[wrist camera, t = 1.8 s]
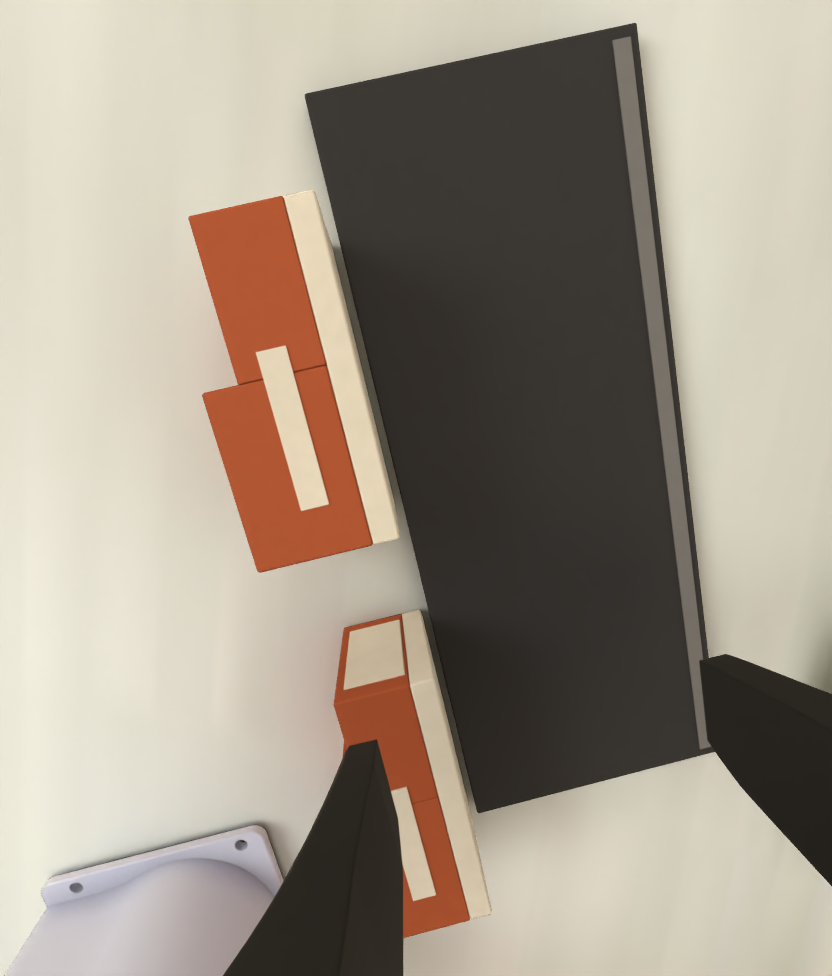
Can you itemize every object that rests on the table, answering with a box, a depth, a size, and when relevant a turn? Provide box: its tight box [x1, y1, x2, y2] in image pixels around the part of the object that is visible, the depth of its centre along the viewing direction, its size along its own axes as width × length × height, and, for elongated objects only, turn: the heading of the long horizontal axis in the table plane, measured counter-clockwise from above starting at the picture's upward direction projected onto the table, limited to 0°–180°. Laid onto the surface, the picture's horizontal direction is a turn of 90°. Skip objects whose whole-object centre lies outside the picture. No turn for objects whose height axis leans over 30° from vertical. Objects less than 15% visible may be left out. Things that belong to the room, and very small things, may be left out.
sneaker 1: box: [334, 610, 492, 938], centre depth 19 cm, size 4×10×5 cm, turn 13°
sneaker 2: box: [189, 190, 400, 572], centre depth 16 cm, size 4×10×5 cm, turn 13°
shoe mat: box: [305, 23, 715, 813], centre depth 19 cm, size 11×28×1 cm, turn 13°
